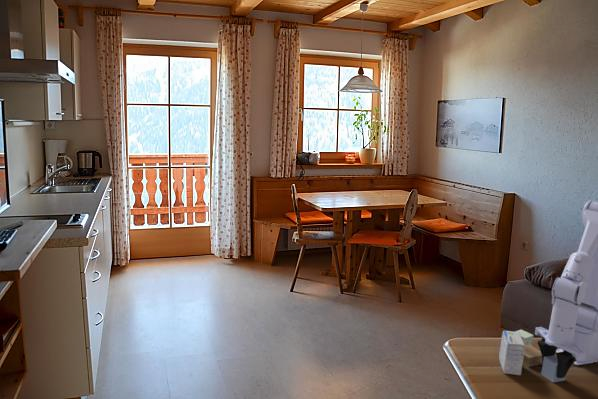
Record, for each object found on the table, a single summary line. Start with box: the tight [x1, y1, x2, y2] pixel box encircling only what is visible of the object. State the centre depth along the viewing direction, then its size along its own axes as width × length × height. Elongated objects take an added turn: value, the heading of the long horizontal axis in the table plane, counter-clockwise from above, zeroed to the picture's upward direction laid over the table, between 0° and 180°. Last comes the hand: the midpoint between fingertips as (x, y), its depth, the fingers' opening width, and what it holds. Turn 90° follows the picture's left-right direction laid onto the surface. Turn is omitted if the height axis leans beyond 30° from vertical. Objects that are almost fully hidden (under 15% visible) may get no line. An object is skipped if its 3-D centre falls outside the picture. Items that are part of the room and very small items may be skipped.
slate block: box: [540, 354, 567, 383], centre depth 136 cm, size 4×4×5 cm
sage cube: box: [514, 329, 534, 346], centre depth 152 cm, size 4×4×4 cm
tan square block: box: [522, 344, 543, 368], centre depth 145 cm, size 6×6×3 cm
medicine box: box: [498, 330, 525, 376], centre depth 139 cm, size 8×4×9 cm, turn 168°
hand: (553, 372), depth 136 cm, fingers closed on slate block, 4 cm apart
